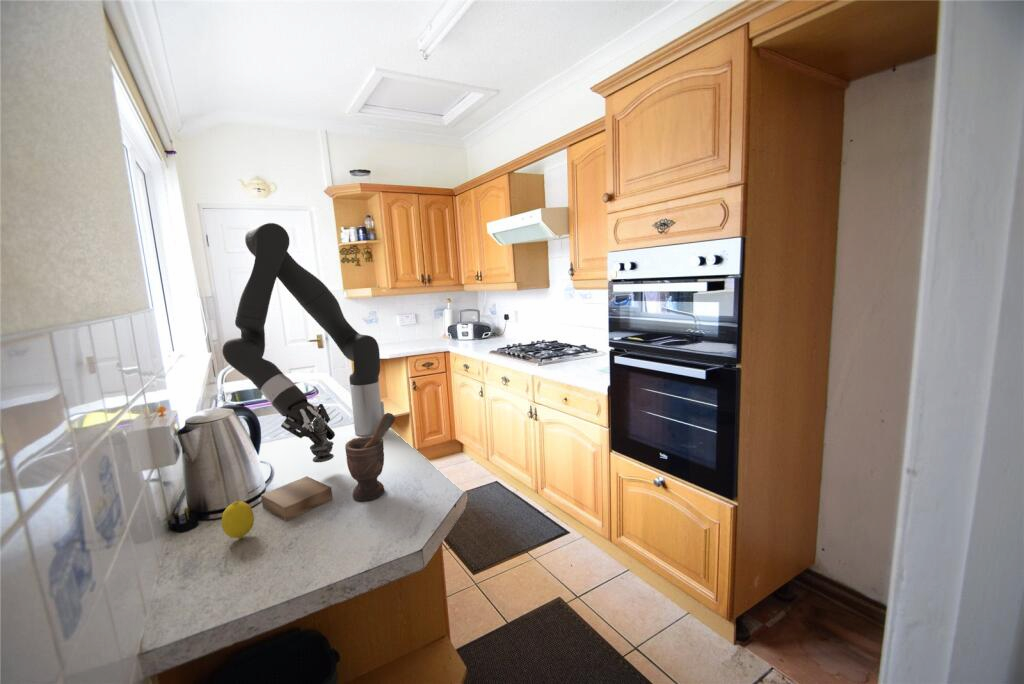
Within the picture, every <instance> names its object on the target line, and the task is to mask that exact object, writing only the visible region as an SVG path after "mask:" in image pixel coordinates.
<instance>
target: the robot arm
mask: <svg viewBox="0 0 1024 684" xmlns="http://www.w3.org/2000/svg"><path fill="white" fill-rule="evenodd" d="M244 239H245V240H244V241H245V246H246V247H247V249H248V251H249V252H250V253H251V254H252V255H253V257H254V263H253V268H252V271H251V273H250V276H249V278H248V281H246V284H245V286H244V289H243V291H242V294H241V296H240V299H239V303H238V308H237V312H236V316H235V320H234V321H235V322H234V324H235V326H236V328H238V329H239V330H240V332H241V333H240V337H235V338H231V339H229V340H227V341H226V342H224V344H223V346H222V351H221V352H222V356H223V358H224V359H225V361H226V362H227V363H228V364H229V365H230V366H231V367H232V368H233V369H235V370H236V371H237V372H239V373H240V374H241V375H243V376H244V377H246V378H248V380H250V382H252V384H253V385H254V386H255V387H256V388H257V389H258V390H259V392H260V393H261V394H262V395H263V396H264V398H265V399H266V400H267V401H268V402H269V403H270V405H271V406H272V407H274V409H275V410H276V411H277V412H278V413H279V414H280V415H281V416H282V417H285V419H284V421H283V422H282V424H280V425H281V426H280V427H282V429H284V430H286V431H287V432H289V433H290V434H292V435H294V436H296V437H297V438H299V439H303V437H304V438H308V439H309V440H310V441H311V442H312V443H313V444H315V445H317V446H321V445H322V444H323V443H324V439H323V438H322V437H321V436H320V435H319V434H318V433H317V432H316V431H314V429H313V421H314V420H315V419H316V418H317V415H318V416H319V418H322V419H324V423H325V429H326V430H327V432H326V436H327V440H328V441H331V440H333V439H334V438H335V436H336V434H335V432H334V430H333V429H331V427H330V426H329V425H328V423H329V422H330V421H331V418H330V416H329V414H328V412H327V410H326V408H325V406H324V404H323V403H319V404H318V405H313V404H312V403H310V402H309V400H308V397H307V395H306V394H305V393H304V392H303V391H302V390H301V389H300V388H299V387H298V385H296V383H294V381H292V380H291V379H290V378H289V377H288V376H287V375H285V373H283V372H282V371H281V369H279V367H278V366H277V365H276V364H275V363H273V362H272V361H270V360H267V359H265V358H263V357H264V355H265V351H266V350H265V349H266V336H265V335H266V333H265V331H266V330H265V324H266V321H267V316H268V312H269V309H270V308H269V307H270V303H271V302H270V301H271V297H272V294H273V290H274V286H275V283H276V280H277V279H278V280H279V281H280V283H282V285H283V286H284V287H285V289H286V290H287V291H288V292H289V293H290V294H291V295H292V297H294V299H295V300H296V301H297V302H298V303H299V305H300V306H301V307H302V308H303V309H304V310H305V311H306V312H307V314H309V315H310V317H312V319H314V320H315V322H316V323H317V324H318V325H319V326H320V327H321V328H322V329H323V330H324V331H325V332H326V333H327V334H328V336H330V338H331V339H332V340H333V341H334V343H335V345H336V346H337V347H338V348H339V350H340V351H341V353H342V355H344V357H345V358H346V359H348V360H349V361H352V362H353V373H351V374H350V375H349V387H350V396H351V407H352V415H353V423H354V424H353V426H354V433H355V436H360V437H366V436H373V435H374V433H375V431H376V429H377V427H378V425H379V423H380V421H381V419H382V417H383V416H384V415H385V414H386V413H385V406H384V401H382V399H381V390H380V389H381V388H380V379H379V376H380V372H381V358H380V357H381V356H380V355H381V354H380V347H379V343H378V342H377V340H376V339H375V338H374V337H373V336H372V335H368V334H360V333H359V332H358V331H357V330H356V329H355V328H353V326H352V325H351V324H350V323H349V322H348V321H347V319H346V317H345V316H344V313H343V311H342V307H341V305H340V303H339V301H338V300H337V298H336V297H335V295H334V294H333V293H332V292H331V290H330V289H329V288H328V287H327V286H326V284H325V283H324V282H322V281H321V280H320V279H319V278H318V277H317V276H316V275H314V274H312V273H311V272H310V271H308V270H307V269H305V267H303V266H302V265H300V264H299V262H297V261H296V260H295V259H294V258H293V257H292V255H291V254H290V253H289V252H288V249H289V246H290V235H289V234H288V232H287V230H286V229H285V228H284V227H283V226H282V225H280V224H277V223H274V222H265V223H262V224H259V225H256V226H253V227H251V228H250V229H248V231H247V232H246V234H245V237H244Z"/></svg>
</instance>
